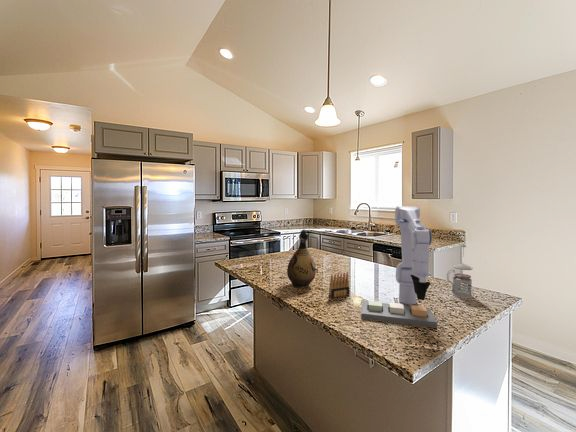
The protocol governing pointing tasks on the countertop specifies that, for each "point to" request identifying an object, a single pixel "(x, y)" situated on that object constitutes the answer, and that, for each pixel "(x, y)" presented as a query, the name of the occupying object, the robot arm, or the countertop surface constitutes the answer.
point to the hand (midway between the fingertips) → (419, 296)
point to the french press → (461, 281)
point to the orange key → (418, 310)
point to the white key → (396, 308)
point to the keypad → (398, 316)
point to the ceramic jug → (301, 265)
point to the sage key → (375, 306)
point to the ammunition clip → (339, 286)
